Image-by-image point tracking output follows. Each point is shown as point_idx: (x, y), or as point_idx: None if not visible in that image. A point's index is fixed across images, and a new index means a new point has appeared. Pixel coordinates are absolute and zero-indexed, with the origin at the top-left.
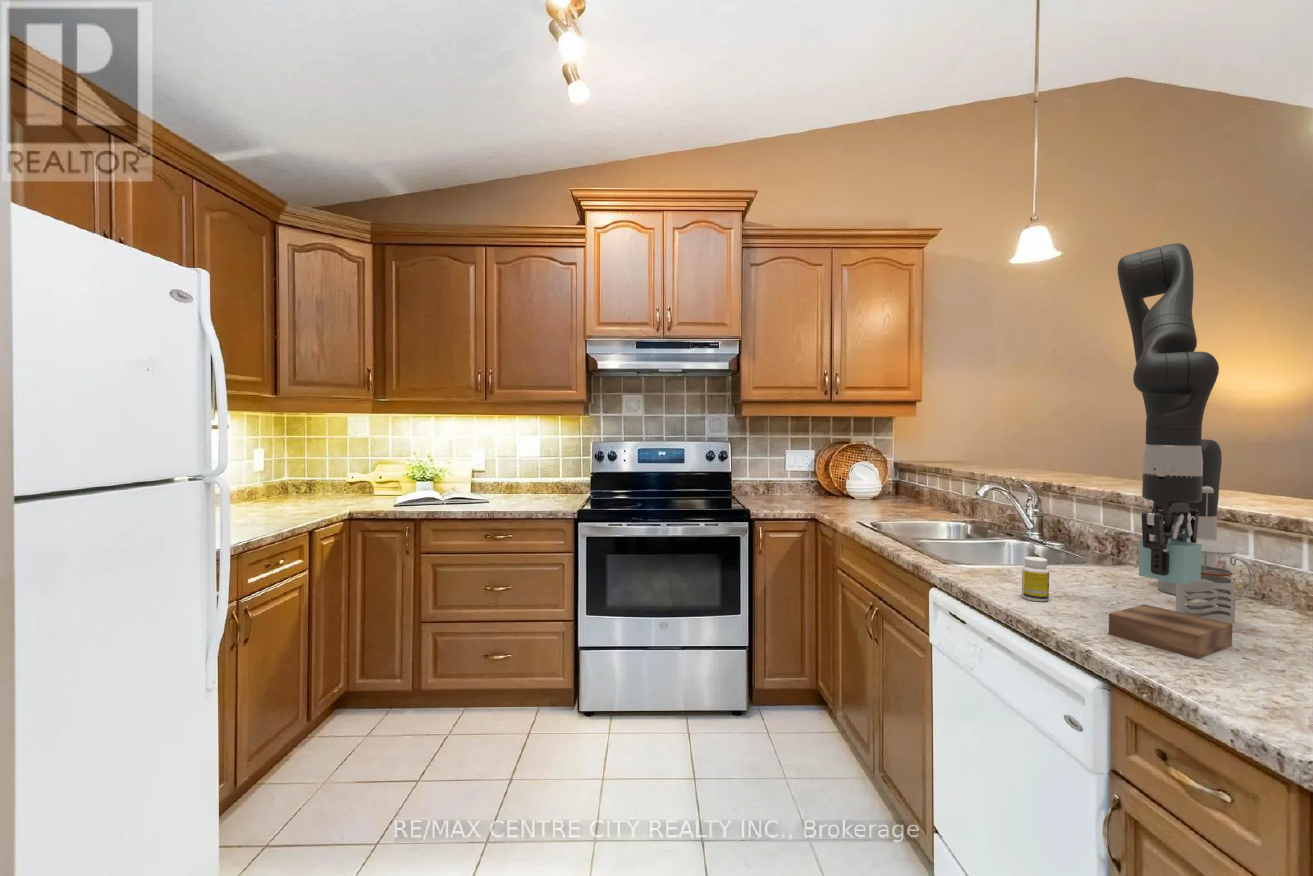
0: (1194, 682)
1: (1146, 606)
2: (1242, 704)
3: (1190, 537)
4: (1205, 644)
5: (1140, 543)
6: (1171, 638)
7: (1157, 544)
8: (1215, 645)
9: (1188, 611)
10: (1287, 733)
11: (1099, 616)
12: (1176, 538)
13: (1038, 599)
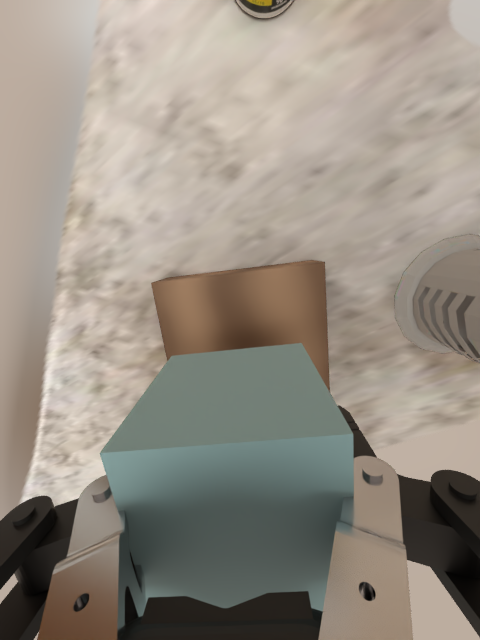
0: (91, 444)
1: (307, 276)
2: (82, 491)
3: (450, 578)
4: None
5: (109, 444)
6: None
7: (17, 584)
8: None
9: (426, 296)
10: None
11: (273, 185)
12: (436, 498)
13: (241, 4)
